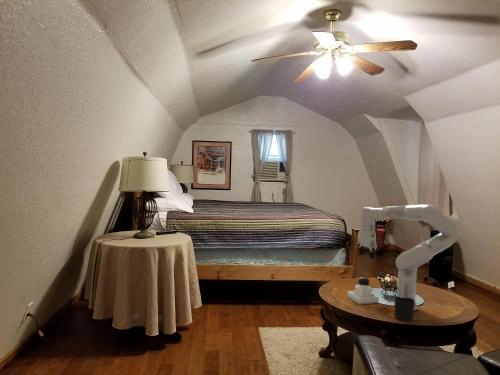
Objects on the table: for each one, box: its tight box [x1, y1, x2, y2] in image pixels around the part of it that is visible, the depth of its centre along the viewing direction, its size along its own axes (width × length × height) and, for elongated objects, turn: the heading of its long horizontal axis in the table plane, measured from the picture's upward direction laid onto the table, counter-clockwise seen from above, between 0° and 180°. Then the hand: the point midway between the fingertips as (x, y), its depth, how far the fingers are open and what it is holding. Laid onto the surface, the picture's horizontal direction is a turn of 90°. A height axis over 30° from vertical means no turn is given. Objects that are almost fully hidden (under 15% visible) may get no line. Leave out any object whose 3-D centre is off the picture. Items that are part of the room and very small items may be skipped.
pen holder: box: [394, 296, 415, 322], centre depth 200 cm, size 9×9×10 cm
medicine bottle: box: [354, 277, 373, 298], centre depth 226 cm, size 7×7×12 cm
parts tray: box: [347, 290, 379, 305], centre depth 226 cm, size 13×13×4 cm
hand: (366, 256), depth 228 cm, fingers open, 9 cm apart
